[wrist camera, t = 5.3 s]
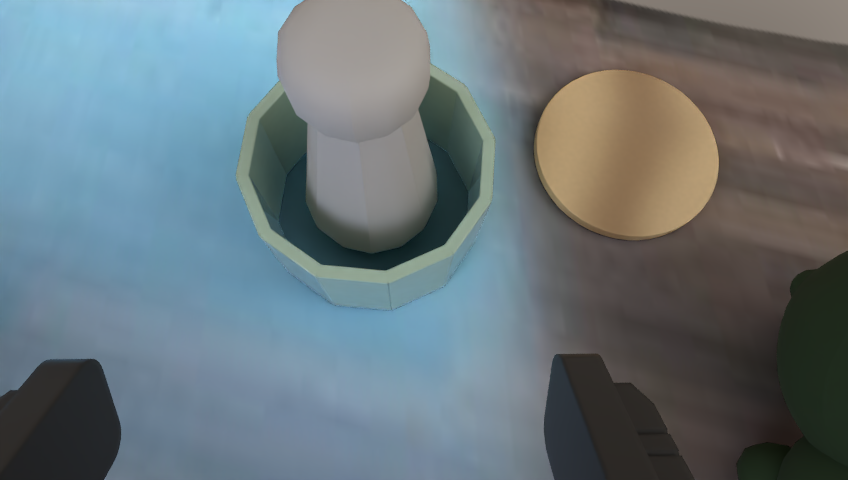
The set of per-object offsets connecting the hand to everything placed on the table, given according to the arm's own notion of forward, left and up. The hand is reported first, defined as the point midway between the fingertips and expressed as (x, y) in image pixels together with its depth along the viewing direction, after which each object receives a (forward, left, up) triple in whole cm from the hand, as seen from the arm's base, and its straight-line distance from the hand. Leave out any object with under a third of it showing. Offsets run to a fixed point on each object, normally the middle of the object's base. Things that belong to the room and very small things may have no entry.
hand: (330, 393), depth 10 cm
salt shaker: (-1, +9, -15) cm, 18 cm away
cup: (-1, +9, -15) cm, 18 cm away
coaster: (+11, +13, -15) cm, 23 cm away
